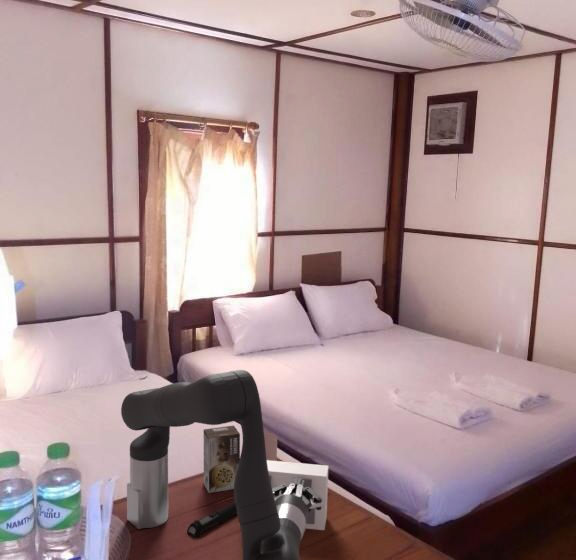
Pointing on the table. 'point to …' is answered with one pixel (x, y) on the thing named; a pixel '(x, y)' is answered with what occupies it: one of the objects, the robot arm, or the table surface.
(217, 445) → the coffee box
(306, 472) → the white switch box
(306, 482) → the outer rocker
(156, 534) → the table surface
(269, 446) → the greeting card
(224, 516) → the electric trimmer
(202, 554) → the table surface
